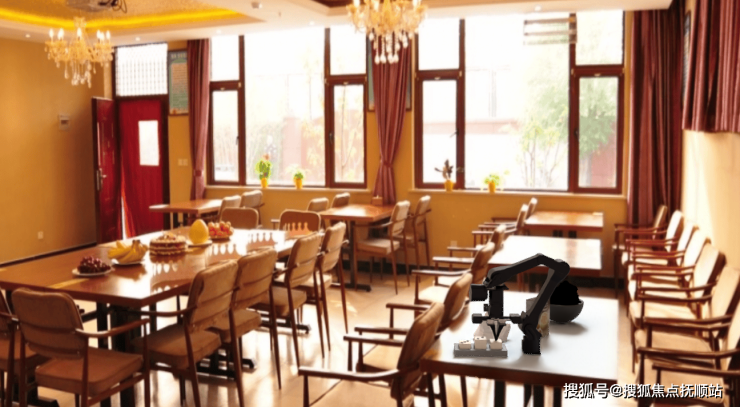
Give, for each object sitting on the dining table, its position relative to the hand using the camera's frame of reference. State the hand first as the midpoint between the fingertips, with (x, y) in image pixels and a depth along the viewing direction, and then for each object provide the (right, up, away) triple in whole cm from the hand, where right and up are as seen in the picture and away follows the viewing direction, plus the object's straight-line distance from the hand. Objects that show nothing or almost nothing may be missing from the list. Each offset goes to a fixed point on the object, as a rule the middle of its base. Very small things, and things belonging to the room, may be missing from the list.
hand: (496, 340), depth 261 cm
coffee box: (+22, -3, +22) cm, 31 cm away
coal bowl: (+37, -1, +43) cm, 57 cm away
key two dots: (-6, -3, +1) cm, 7 cm away
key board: (-6, -5, +1) cm, 8 cm away
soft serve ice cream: (+1, -4, +18) cm, 18 cm away
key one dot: (0, -4, 0) cm, 4 cm away
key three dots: (-12, -5, +1) cm, 13 cm away
